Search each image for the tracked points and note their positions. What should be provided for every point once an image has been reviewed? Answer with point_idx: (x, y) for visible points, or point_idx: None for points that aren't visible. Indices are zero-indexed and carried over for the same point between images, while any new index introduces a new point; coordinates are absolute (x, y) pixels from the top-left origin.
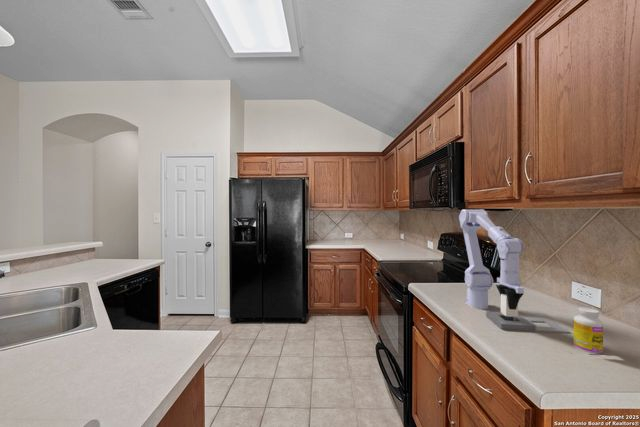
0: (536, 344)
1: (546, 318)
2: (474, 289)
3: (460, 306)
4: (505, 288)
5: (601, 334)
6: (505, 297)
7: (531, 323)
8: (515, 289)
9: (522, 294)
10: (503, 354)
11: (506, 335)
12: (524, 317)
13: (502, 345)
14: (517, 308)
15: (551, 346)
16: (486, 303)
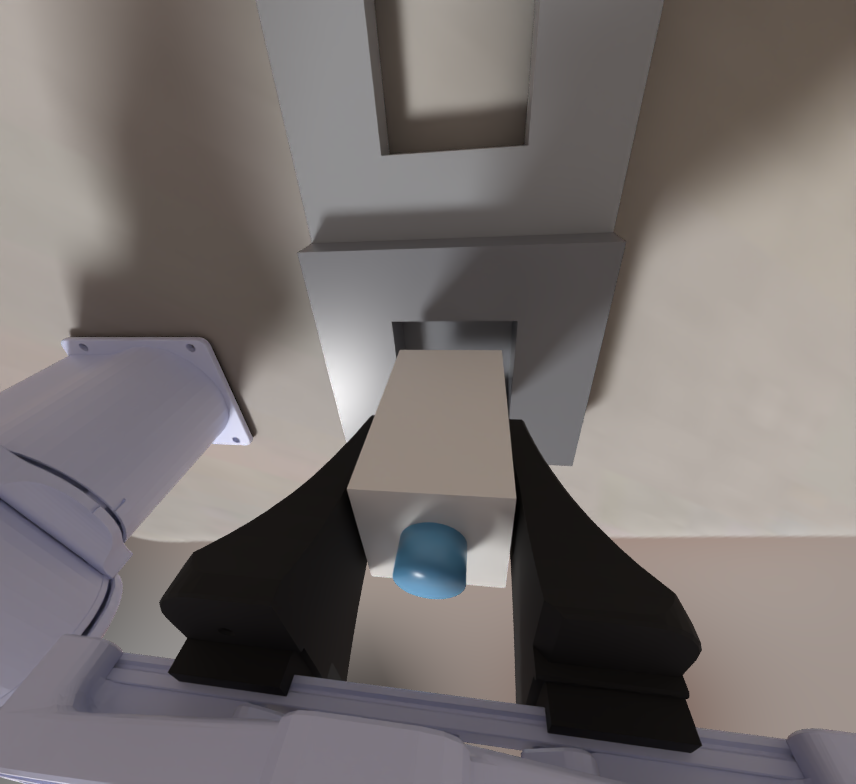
0: (766, 317)
1: None
2: (127, 551)
3: (202, 465)
4: (330, 630)
5: None
6: (483, 578)
7: (569, 250)
8: (680, 780)
9: (669, 598)
10: (804, 518)
11: (605, 421)
12: (305, 165)
13: (719, 487)
14: (506, 402)
15: (837, 221)
16: (170, 398)
